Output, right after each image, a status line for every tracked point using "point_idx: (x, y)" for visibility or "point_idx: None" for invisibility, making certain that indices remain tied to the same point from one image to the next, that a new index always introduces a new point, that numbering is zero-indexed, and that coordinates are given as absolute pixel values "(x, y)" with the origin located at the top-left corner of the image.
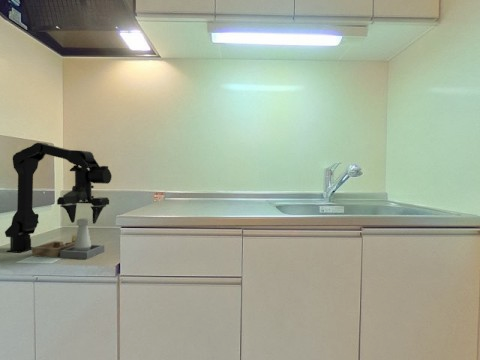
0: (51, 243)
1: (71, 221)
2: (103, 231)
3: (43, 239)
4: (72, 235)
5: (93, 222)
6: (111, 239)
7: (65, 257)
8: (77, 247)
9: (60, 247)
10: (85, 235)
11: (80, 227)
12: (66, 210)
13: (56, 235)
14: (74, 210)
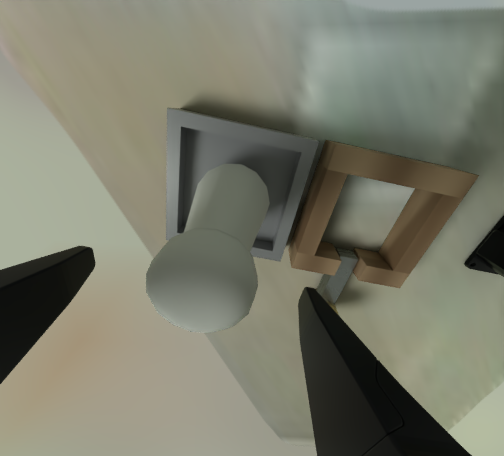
0: (401, 256)
1: (315, 293)
2: (295, 416)
3: (450, 360)
4: None
5: (74, 248)
6: (233, 354)
7: (286, 132)
8: (241, 164)
9: (335, 184)
10: (196, 205)
11: (215, 228)
12: (445, 435)
13: (419, 392)
14: (329, 454)
